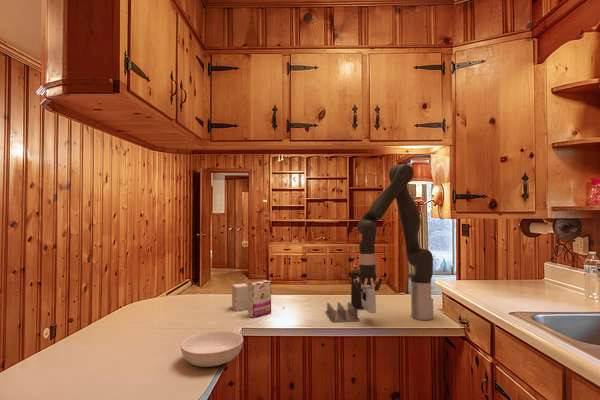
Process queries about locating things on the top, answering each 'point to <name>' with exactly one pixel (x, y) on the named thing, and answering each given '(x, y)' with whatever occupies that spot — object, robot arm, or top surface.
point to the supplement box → (240, 297)
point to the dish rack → (342, 313)
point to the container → (355, 290)
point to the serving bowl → (211, 347)
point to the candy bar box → (259, 298)
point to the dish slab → (369, 300)
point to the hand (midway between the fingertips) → (368, 300)
